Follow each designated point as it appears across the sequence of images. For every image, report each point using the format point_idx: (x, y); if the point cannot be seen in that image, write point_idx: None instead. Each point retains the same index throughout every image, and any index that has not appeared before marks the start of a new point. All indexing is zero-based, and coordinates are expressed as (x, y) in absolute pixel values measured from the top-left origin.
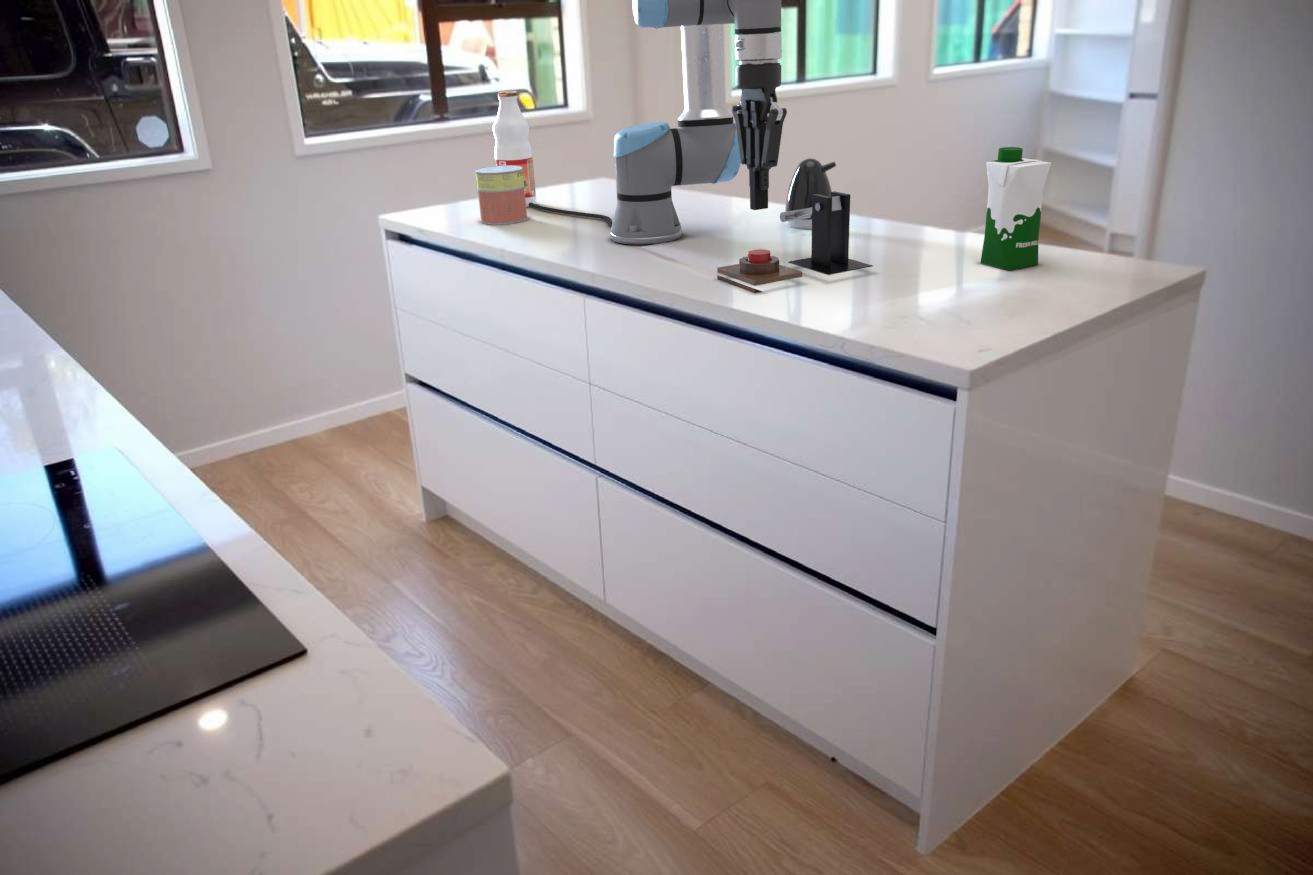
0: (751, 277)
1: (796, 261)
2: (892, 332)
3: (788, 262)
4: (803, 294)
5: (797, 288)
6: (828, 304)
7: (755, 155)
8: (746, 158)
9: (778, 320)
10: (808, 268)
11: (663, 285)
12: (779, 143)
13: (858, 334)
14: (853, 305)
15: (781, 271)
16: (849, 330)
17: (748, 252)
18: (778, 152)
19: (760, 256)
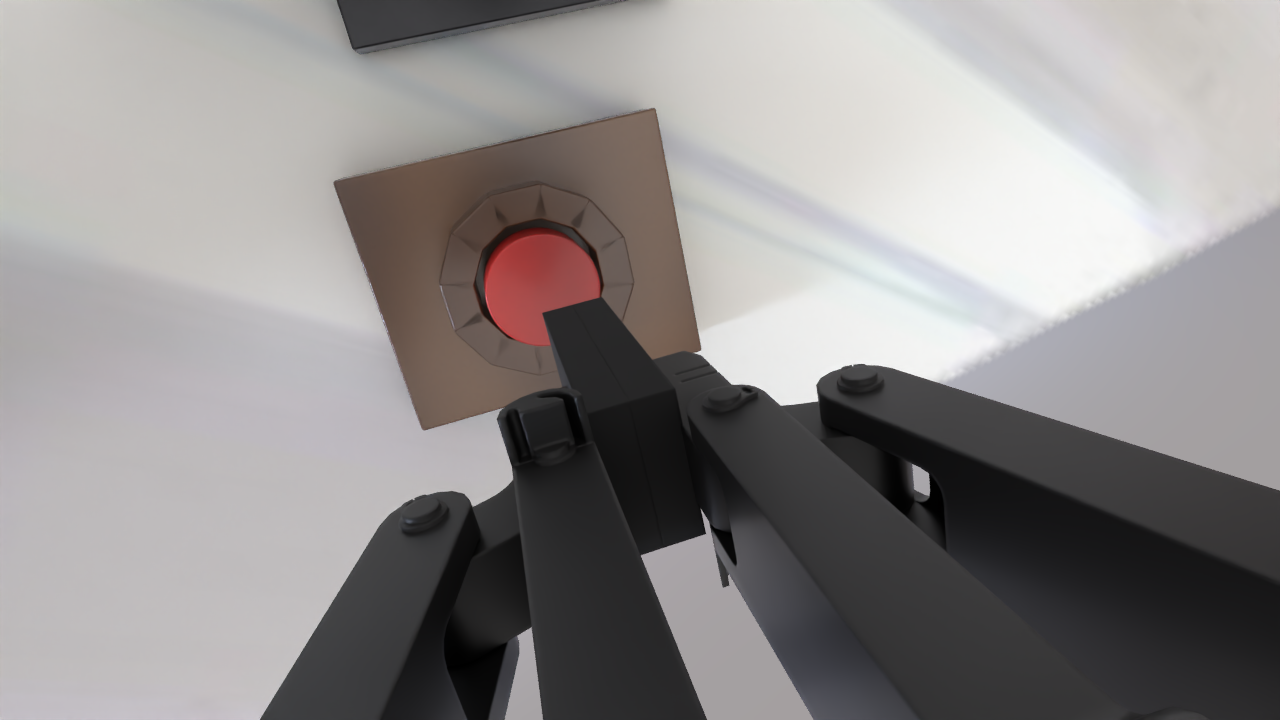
0: (647, 345)
1: (367, 3)
2: (1234, 103)
3: (362, 49)
4: (775, 172)
5: (689, 156)
6: (925, 145)
7: (764, 626)
8: (506, 644)
9: (979, 361)
10: (531, 14)
11: None
12: (1156, 465)
13: (1191, 203)
14: (979, 67)
15: (611, 195)
16: (1155, 210)
17: (532, 342)
18: (1017, 415)
19: None
